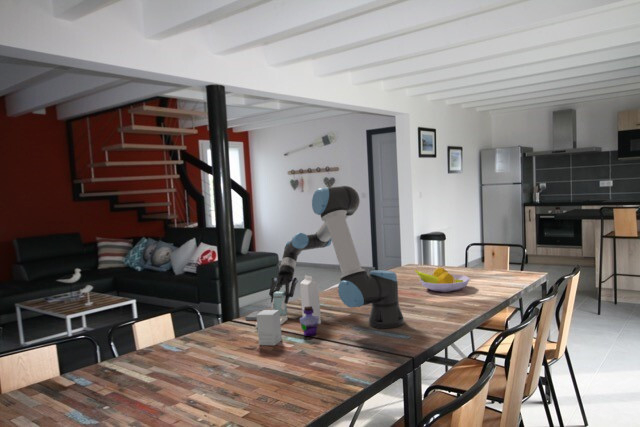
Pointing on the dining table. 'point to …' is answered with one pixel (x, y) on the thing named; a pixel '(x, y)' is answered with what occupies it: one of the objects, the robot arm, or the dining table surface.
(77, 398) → the dining table surface
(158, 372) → the dining table surface
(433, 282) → the fruit bowl
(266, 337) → the supplement box
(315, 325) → the potion bottle
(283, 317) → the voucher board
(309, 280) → the milk
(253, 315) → the coaster
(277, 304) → the light blue tall block
